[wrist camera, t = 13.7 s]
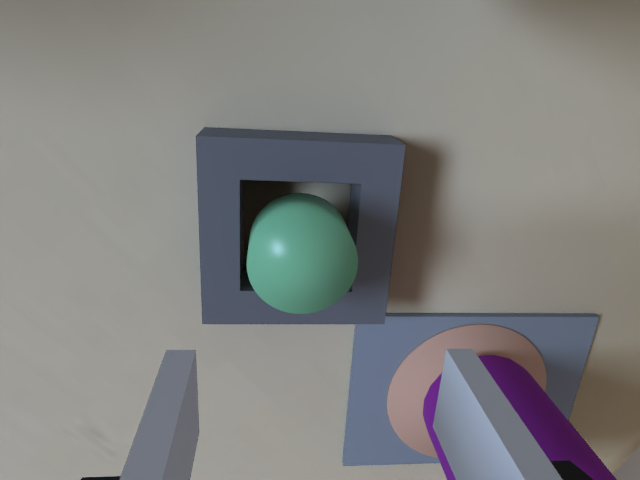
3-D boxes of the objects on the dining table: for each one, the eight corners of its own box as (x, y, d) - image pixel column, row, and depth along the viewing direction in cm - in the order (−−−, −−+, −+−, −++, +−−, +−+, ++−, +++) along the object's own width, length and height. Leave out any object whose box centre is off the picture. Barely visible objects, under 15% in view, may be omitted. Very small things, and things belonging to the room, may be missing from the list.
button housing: (209, 297, 28) (202, 324, 26) (204, 127, 25) (195, 136, 22) (373, 298, 30) (384, 324, 27) (391, 135, 26) (405, 144, 23)
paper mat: (342, 461, 34) (343, 468, 33) (356, 313, 30) (358, 318, 29) (553, 455, 36) (558, 461, 35) (595, 314, 31) (601, 318, 31)
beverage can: (550, 389, 33) (695, 562, 21) (465, 457, 34) (560, 651, 23) (482, 325, 30) (605, 482, 19) (394, 401, 32) (461, 587, 21)
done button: (249, 285, 25) (246, 313, 22) (249, 191, 23) (246, 210, 20) (344, 285, 25) (353, 314, 22) (352, 194, 24) (362, 213, 21)
